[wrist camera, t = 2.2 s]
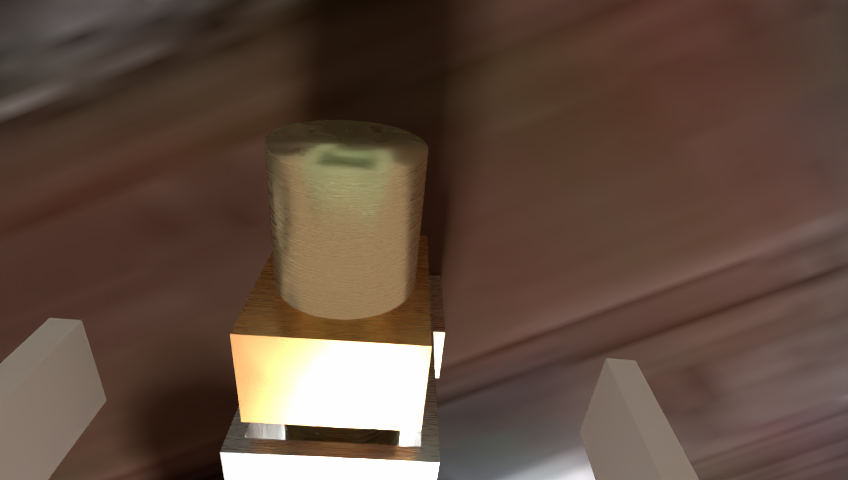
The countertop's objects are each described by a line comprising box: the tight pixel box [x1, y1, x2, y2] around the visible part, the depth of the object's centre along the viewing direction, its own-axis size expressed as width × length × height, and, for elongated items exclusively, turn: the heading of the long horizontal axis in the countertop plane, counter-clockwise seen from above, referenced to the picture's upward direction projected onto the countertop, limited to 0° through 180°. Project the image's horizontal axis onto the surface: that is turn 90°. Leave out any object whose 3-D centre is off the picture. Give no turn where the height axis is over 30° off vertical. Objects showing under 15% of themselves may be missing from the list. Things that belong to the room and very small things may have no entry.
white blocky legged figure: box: [220, 275, 445, 480], centre depth 20 cm, size 7×10×10 cm
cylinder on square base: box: [230, 120, 432, 445], centre depth 17 cm, size 5×20×6 cm, turn 175°
